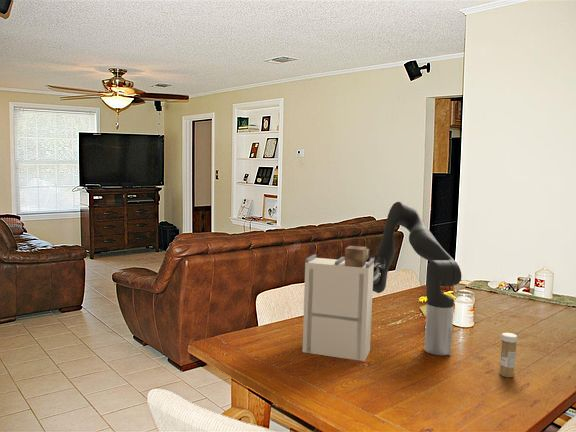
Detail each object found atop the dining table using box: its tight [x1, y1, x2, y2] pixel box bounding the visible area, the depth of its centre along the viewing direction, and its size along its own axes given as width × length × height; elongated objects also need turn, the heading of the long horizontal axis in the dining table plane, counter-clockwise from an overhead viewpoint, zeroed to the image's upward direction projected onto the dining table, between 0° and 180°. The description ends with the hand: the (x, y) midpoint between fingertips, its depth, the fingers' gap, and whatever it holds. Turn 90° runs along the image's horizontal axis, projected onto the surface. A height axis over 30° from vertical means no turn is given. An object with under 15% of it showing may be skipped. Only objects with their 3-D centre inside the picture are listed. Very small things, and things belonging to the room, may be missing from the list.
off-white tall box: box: [302, 253, 374, 362], centre depth 180 cm, size 22×11×33 cm, turn 72°
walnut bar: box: [344, 245, 370, 268], centre depth 182 cm, size 6×22×6 cm, turn 162°
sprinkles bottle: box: [498, 332, 518, 378], centre depth 164 cm, size 5×5×14 cm
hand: (364, 255), depth 190 cm, fingers open, 8 cm apart
